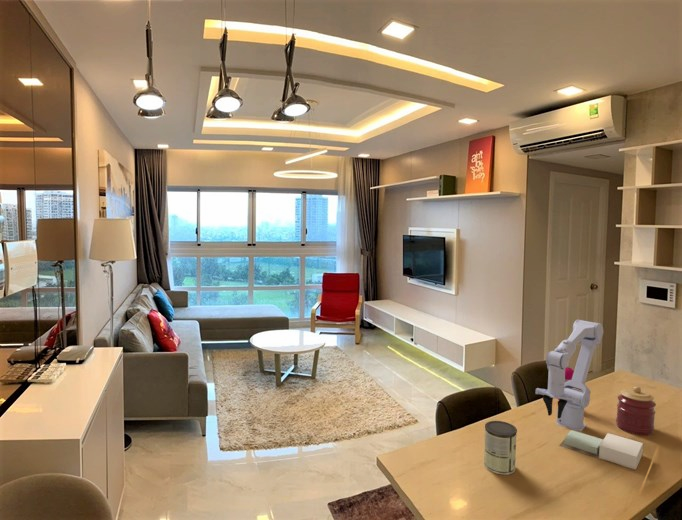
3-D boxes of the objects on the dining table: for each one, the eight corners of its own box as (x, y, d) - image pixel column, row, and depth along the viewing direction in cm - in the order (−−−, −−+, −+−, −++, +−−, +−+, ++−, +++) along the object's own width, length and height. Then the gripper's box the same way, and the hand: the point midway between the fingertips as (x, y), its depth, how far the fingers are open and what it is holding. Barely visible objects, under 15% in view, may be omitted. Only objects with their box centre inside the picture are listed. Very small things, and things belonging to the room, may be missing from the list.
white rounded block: (598, 457, 155) (599, 445, 155) (607, 444, 164) (607, 432, 164) (635, 469, 148) (636, 456, 147) (642, 455, 157) (642, 443, 156)
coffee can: (482, 457, 156) (483, 419, 155) (512, 460, 154) (514, 422, 153) (485, 473, 146) (486, 432, 145) (518, 476, 144) (519, 436, 143)
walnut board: (559, 447, 163) (559, 445, 163) (570, 433, 174) (570, 432, 174) (635, 472, 147) (635, 470, 147) (642, 455, 157) (642, 454, 157)
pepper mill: (573, 405, 200) (576, 362, 199) (574, 411, 194) (577, 367, 192) (556, 402, 204) (558, 360, 202) (556, 408, 197) (558, 365, 195)
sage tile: (564, 443, 165) (564, 437, 164) (570, 435, 171) (571, 429, 171) (597, 454, 157) (597, 448, 157) (602, 445, 163) (603, 439, 163)
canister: (653, 439, 169) (656, 395, 168) (614, 429, 177) (616, 387, 175) (654, 427, 180) (657, 385, 178) (617, 418, 187) (619, 378, 186)
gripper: (533, 380, 171) (531, 413, 172) (573, 390, 161) (571, 425, 163) (539, 375, 176) (538, 408, 178) (579, 384, 167) (577, 419, 168)
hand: (554, 416), depth 170 cm, fingers open, 3 cm apart
